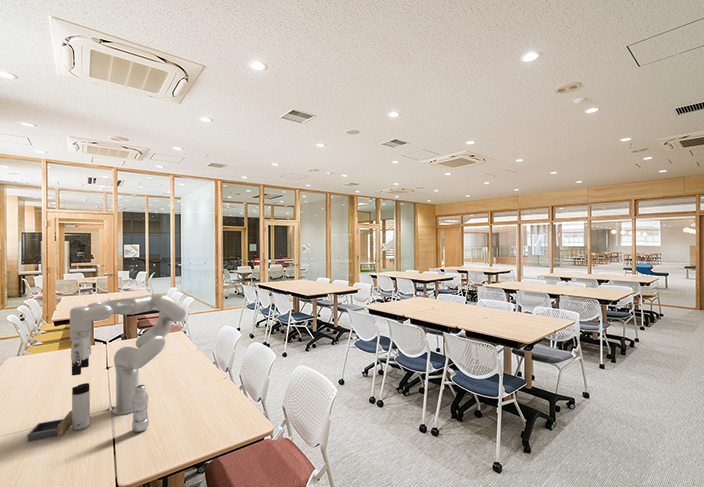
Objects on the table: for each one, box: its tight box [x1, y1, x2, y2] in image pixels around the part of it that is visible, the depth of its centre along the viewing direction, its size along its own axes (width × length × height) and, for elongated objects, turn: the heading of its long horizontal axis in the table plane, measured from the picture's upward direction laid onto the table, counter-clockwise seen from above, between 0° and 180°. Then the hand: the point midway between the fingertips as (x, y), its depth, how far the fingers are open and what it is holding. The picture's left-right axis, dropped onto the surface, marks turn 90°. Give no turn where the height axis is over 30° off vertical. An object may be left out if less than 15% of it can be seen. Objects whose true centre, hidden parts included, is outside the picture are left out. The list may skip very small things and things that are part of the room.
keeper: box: [27, 418, 64, 443], centre depth 147 cm, size 11×10×3 cm
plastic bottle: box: [131, 384, 150, 433], centre depth 149 cm, size 6×7×20 cm
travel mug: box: [71, 382, 91, 432], centre depth 151 cm, size 6×7×20 cm
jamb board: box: [57, 410, 72, 441], centre depth 149 cm, size 1×14×6 cm, turn 23°
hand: (80, 370), depth 151 cm, fingers open, 9 cm apart
